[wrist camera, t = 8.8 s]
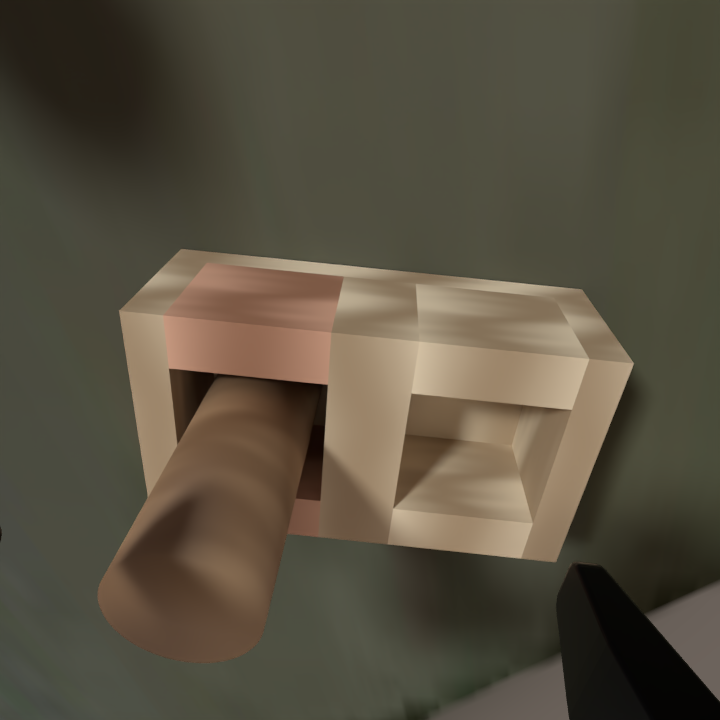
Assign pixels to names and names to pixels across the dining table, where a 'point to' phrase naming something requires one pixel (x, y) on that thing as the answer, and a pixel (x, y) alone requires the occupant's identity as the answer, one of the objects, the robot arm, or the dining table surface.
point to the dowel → (214, 524)
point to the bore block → (392, 392)
